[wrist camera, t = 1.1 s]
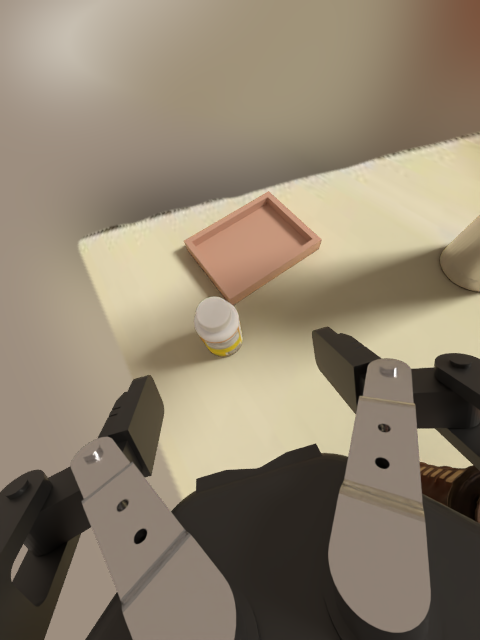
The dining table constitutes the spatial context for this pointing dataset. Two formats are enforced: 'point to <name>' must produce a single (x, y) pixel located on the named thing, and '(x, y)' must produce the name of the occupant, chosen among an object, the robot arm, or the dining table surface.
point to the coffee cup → (453, 488)
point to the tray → (251, 246)
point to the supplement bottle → (218, 326)
